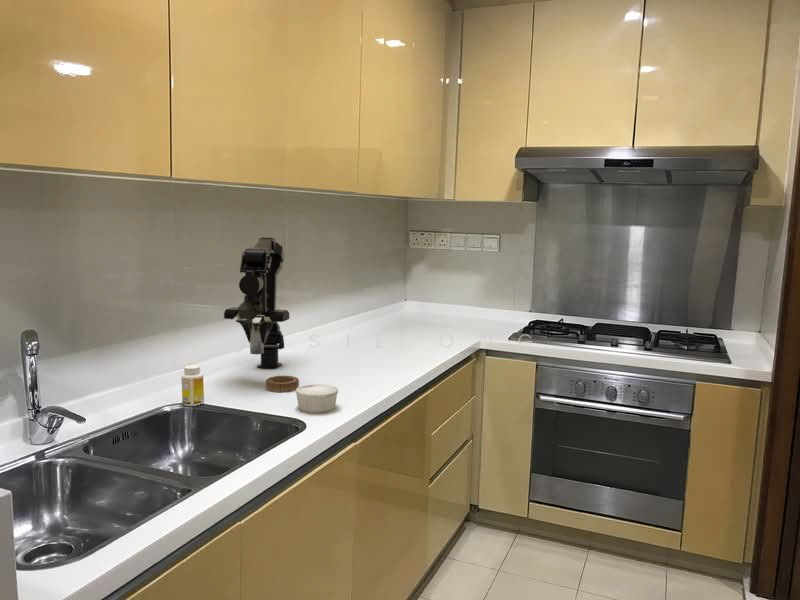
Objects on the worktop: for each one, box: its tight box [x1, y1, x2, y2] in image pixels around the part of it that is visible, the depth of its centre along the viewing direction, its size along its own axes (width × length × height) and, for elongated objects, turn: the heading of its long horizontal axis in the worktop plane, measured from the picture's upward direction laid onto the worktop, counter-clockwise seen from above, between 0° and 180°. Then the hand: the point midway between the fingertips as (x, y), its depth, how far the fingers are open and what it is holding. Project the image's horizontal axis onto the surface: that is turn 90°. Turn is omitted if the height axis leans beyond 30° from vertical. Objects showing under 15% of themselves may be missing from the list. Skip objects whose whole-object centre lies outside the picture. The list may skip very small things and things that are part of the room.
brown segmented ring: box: [265, 375, 300, 393], centre depth 193 cm, size 9×9×2 cm
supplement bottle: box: [181, 364, 205, 407], centre depth 176 cm, size 6×6×10 cm
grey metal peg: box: [249, 321, 264, 355], centre depth 197 cm, size 4×4×9 cm
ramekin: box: [295, 383, 339, 414], centre depth 175 cm, size 11×11×5 cm
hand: (256, 342), depth 198 cm, fingers closed on grey metal peg, 4 cm apart
